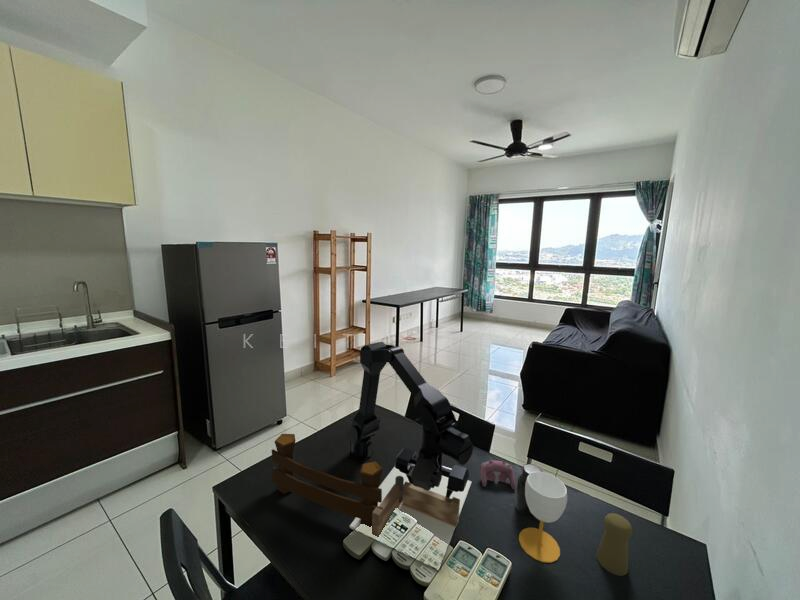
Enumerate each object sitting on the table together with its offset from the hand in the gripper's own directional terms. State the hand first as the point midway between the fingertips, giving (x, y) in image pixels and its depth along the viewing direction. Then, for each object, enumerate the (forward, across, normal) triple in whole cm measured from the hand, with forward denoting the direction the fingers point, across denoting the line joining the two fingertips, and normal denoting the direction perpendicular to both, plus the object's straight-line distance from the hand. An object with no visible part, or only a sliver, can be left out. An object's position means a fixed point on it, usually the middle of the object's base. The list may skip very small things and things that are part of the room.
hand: (429, 496), depth 85 cm
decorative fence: (+2, -24, -12) cm, 27 cm away
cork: (+4, +42, +4) cm, 42 cm away
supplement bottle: (+4, +24, +11) cm, 27 cm away
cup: (+3, +27, +1) cm, 27 cm away
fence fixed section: (+2, -8, -8) cm, 12 cm away
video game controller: (+4, +15, +18) cm, 24 cm away
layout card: (+3, -3, -1) cm, 5 cm away
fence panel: (+2, +1, -3) cm, 3 cm away
